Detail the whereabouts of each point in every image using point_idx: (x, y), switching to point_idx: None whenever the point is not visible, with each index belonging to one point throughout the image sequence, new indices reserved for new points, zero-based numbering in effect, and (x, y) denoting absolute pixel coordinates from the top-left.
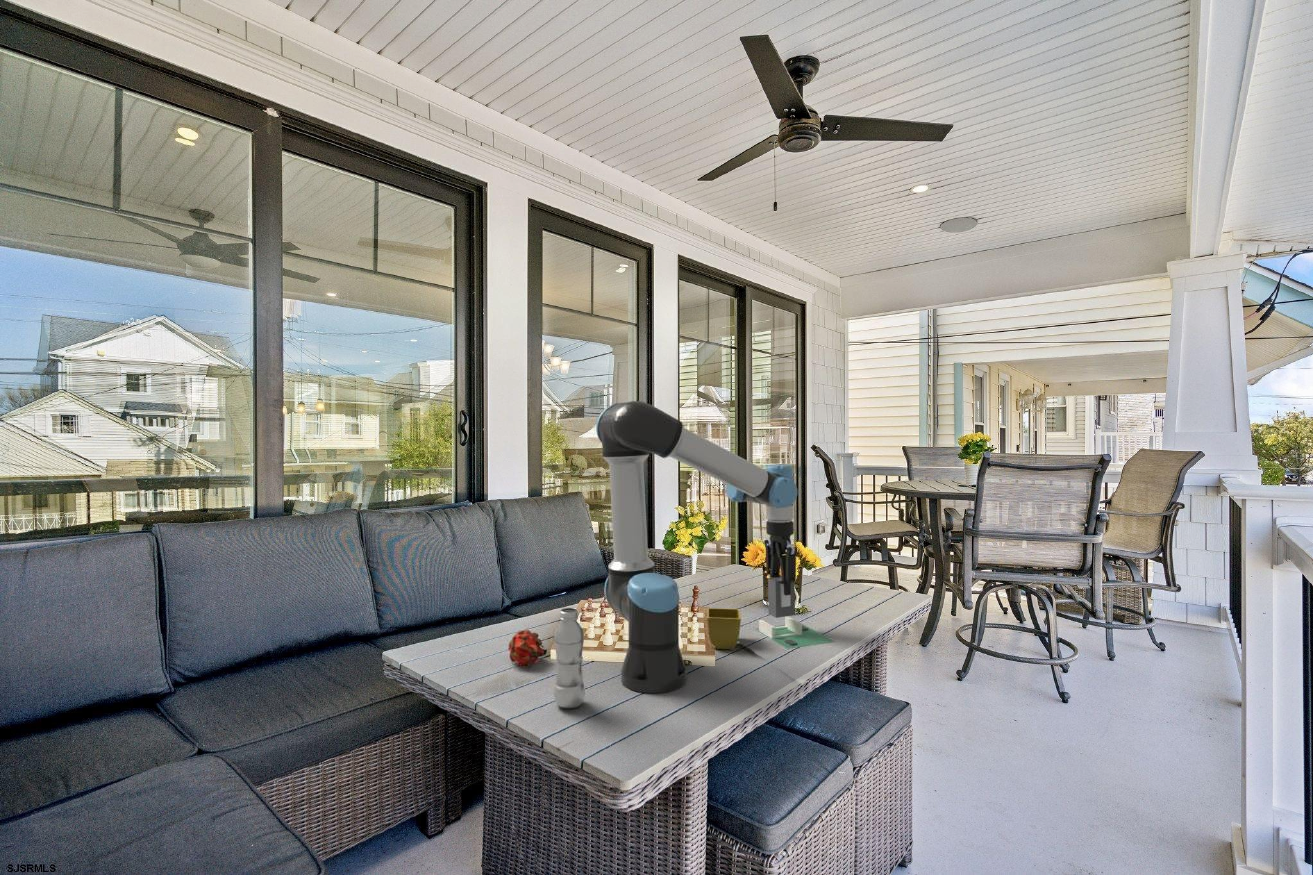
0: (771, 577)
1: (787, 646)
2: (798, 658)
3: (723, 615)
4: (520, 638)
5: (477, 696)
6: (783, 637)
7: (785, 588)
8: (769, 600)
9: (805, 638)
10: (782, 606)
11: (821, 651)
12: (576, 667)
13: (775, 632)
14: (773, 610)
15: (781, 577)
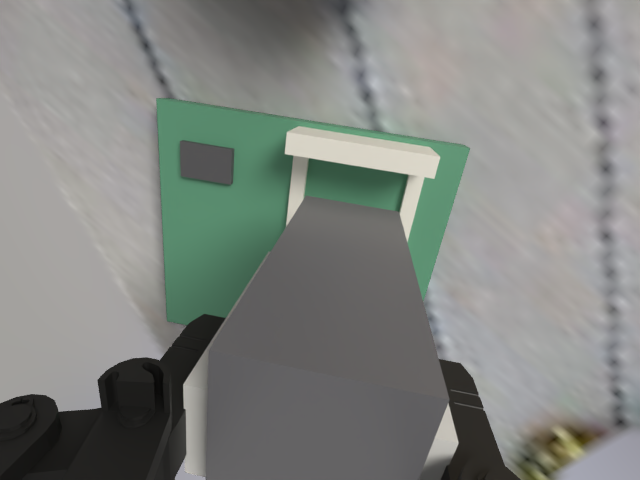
0: (470, 469)
1: (180, 118)
2: (103, 99)
3: None
4: None
5: None
6: (287, 186)
7: (178, 359)
8: (390, 245)
9: (235, 255)
10: (267, 256)
11: (145, 233)
12: None
13: (362, 202)
14: (333, 212)
15: None
